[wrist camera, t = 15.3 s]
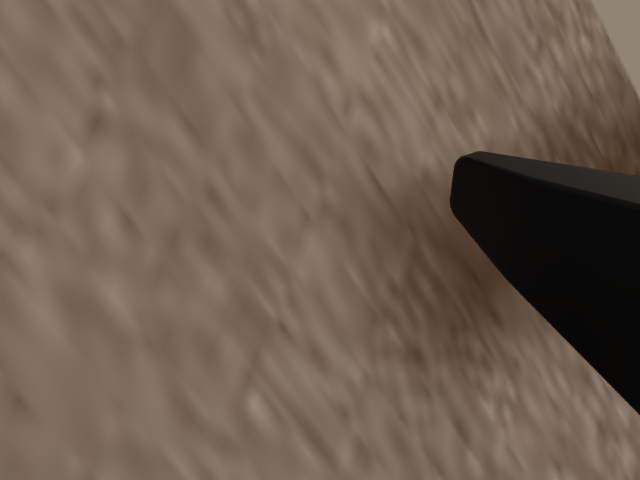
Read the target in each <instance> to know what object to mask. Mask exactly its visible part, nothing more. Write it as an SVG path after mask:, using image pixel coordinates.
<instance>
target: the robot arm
mask: <svg viewBox="0 0 640 480" xmlns="http://www.w3.org/2000/svg"><path fill="white" fill-rule="evenodd" d="M450 207H451V210H452V212H453V214H454V216H455V217H456V218H457V220H458V221H459V222H460V223H461V224H462V226H463V227H464V228H465V229H466V231H467V232H468V233H469V234H470V236H471V237H472V238H473V239H474V241H475V242H476V243H477V244H478V245H479V247H480V248H481V249H482V250H483V252H484V253H485V254H486V255H487V257H488V258H489V259H490V260H491V262H492V263H493V264H494V265H495V267H496V268H497V269H498V270H499V271H500V272H501V274H502V275H503V276H504V277H505V278H506V279H507V280H508V282H509V283H510V284H511V285H512V286H513V287H514V288H515V289H516V290H517V291H518V292H519V293H520V294H521V295H522V296H523V297H524V298H525V299H526V300H527V301H528V302H529V303H530V304H531V305H532V306H533V307H534V308H535V309H536V310H537V311H538V312H539V313H540V314H541V315H542V316H543V317H544V318H545V319H546V320H547V321H548V322H549V323H550V324H551V325H552V327H553V328H554V329H555V330H556V331H557V332H558V333H559V334H560V335H561V336H562V337H563V338H564V339H565V340H566V341H567V342H568V343H569V344H570V345H571V346H572V347H573V348H574V349H575V350H576V351H577V352H578V353H579V354H580V355H581V356H582V357H583V358H584V359H585V360H586V361H587V362H588V363H589V364H590V365H591V366H592V367H593V368H594V369H595V370H596V371H597V372H598V373H599V374H600V375H601V376H602V377H603V378H604V379H605V380H606V381H607V382H608V383H609V384H610V385H611V386H612V387H613V388H614V389H615V390H616V391H617V392H618V393H619V394H620V395H621V397H622V398H623V399H624V400H625V401H626V402H627V403H628V404H629V405H630V406H631V407H632V408H633V409H634V410H635V411H636V412H637V413H638V414H639V415H640V176H635V175H628V174H622V173H616V172H609V171H603V170H597V169H590V168H584V167H578V166H571V165H565V164H559V163H552V162H546V161H540V160H533V159H527V158H521V157H514V156H508V155H502V154H495V153H489V152H483V151H479V152H474V153H471V154H468V155H465V156H462V157H460V158H459V159H458V160H457V161H456V163H455V165H454V171H453V179H452V186H451V194H450Z"/></svg>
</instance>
